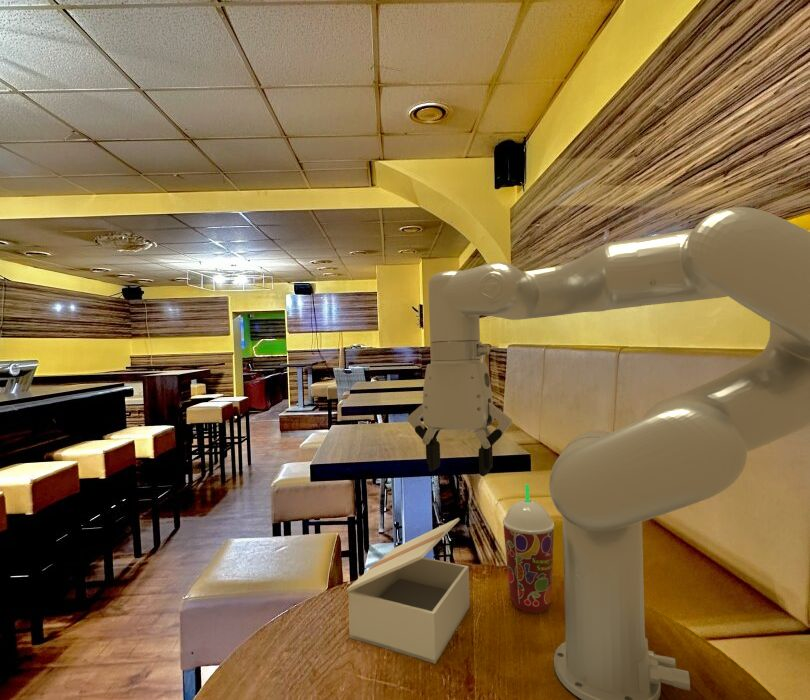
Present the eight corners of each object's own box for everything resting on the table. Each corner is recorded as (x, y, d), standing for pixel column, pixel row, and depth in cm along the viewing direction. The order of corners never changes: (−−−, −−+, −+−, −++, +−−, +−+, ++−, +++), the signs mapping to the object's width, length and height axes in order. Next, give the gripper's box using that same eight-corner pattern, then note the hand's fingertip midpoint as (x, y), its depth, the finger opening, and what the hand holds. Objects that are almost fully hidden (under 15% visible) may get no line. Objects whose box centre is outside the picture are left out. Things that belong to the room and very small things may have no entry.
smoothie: (546, 624, 69) (542, 495, 70) (496, 607, 74) (493, 487, 75) (563, 600, 76) (560, 482, 76) (517, 585, 81) (513, 475, 81)
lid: (459, 519, 76) (458, 517, 76) (422, 558, 62) (420, 555, 62) (395, 550, 81) (393, 547, 81) (347, 591, 67) (345, 588, 68)
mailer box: (469, 607, 75) (468, 566, 75) (435, 663, 61) (433, 614, 61) (395, 589, 81) (394, 551, 81) (349, 637, 68) (348, 592, 68)
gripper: (518, 352, 67) (522, 470, 67) (414, 355, 75) (417, 461, 75) (506, 352, 61) (510, 484, 60) (392, 356, 68) (396, 472, 68)
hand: (459, 470), depth 68 cm, fingers open, 7 cm apart
